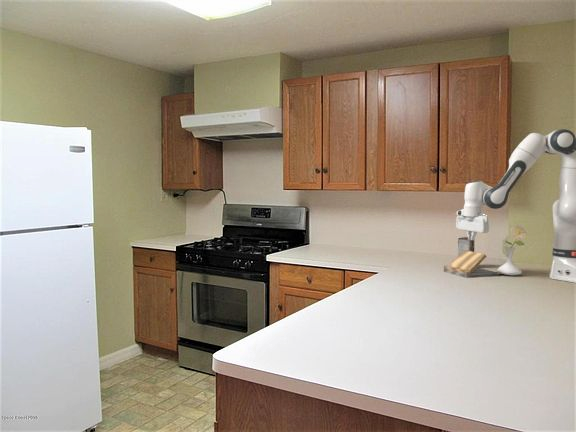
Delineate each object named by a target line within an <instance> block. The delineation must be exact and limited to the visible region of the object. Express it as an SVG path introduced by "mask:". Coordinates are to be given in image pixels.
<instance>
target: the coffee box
mask: <svg viewBox="0 0 576 432" xmlns="http://www.w3.org/2000/svg"><path fill="white" fill-rule="evenodd" d="M475 240H476V239H475ZM475 240H468V236H462V237H459V238H458V241H457V257H458V256H459V255H460V254H461V253H462V252H463V251H464V250H465V251H470V252H475Z"/></svg>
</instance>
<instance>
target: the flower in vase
mask: <svg viewBox="0 0 576 432" xmlns="http://www.w3.org/2000/svg"><path fill="white" fill-rule="evenodd" d="M509 232H510V233H509V235H510V237H511V238H512V239H514V240H515V241H514V243H513V244H512V242H509V241H508V240H506V239H505V242H506V244H507V245H511V246H504V249H505V251H506V254H507V255H506V256H507V258H506V261H505V263H503V264H502V265H501V266H499V267H498V268H497V269H496V272H498V274H500V275H501V274H502V275H505V276H519V275H521V274H522V273H523V271H522V270H521V269H520V267H518V266H517V265H516V264H515V263H514V262H513V256H514V255H513V254H514V251H515V250H516V247H513V246H514V245H515V244H516V245H517V246H525V243H524V242H523V241H522V240H525V239H527V238H526V237H527V236H528V231H527V230H526V229H525V227H524V226H521V225H515V226H512V227H511V228H510V231H509Z"/></svg>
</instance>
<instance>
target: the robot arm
mask: <svg viewBox="0 0 576 432" xmlns="http://www.w3.org/2000/svg"><path fill="white" fill-rule="evenodd" d="M543 153H545V154H547V155H548V154H549V155H559V157H560V159H561V160H560V161H561V164H560V170H559V178H558V190H559V196H558V197H559V198H558V199H556V200H555V201H554V203H553V204H552V219H553V220H552V221H553V229H554V230H553V231H554V233H553V234H554V235H553V236H554V237H553V247H552V251H551V252H552V263H551V266H550V267H551V268H550V271H549V274H548V277H549V278H550V279H552V280H558V281H563V282H570V283H575V284H576V135H575V134H574V132H573V131H571V130H570V129H567V128H566V129H565V128H561V129H558V130H557V129H556V130H553V131H552V132H550V133H547V134H545V135H543V134H541V133H538V132H532V133H529V134H528V135H526V137H524V139H523V140H522V141H520V143H519V144H518V145H517V146H516V147H515V149H514V151H513V152H512V153H511V155H510V157H509V159H508V168H507V171H506V173H505V174H504V175H503V177H502V178H501V179H500V181H499V182H498V183H497V184H496V185H495V186H494V187H493V186H490V185H488V184H486V183H485V182H483V181H482V180H473V181H469V182H468V183H466V185H465V188H464V196H463V198H464V199H463V200H464V205H463V208H462V209H460V210H457V211H456V215H457V216H456V218H455V227H456V229H457V230H460V231H466V234H467V235H466V236H467V237H468V240H476V236H477V234H478V233H482V234H487V233H488V232H490V224H489V217H488V215H487V214H485V213H483V206H487V207H488V208H490V209H494V210H498V209H501V208H503V207H504V206H505V205H506V204H507V201H508V199H509V194H510V192H511V190H512V189H513V187H514V186H515V185H516V184H517V182H518V181H519V180H520V178H521V177H522V176H523V175H524V174H525V173H527V171H528V170H529V169H530V168H531V167H532V166H533V165H534V164H535V163H536V161H538V159H539V158H540V157H541V155H542V154H543Z"/></svg>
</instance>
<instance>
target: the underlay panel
mask: <svg viewBox="0 0 576 432" xmlns="http://www.w3.org/2000/svg"><path fill="white" fill-rule="evenodd" d="M443 272H444V273H448V274H453V275H456V276H459V277H463V278H476V277H477V278H478V277H494V276H498V274H499V273H498V272H497V271H493V270H491V269H490V270H489V269H485V268H481V267H476V268H475V269H474V270H473V271H472V272H471V273H470V271H468V270H464V269H460V268H455V267H451V266H450V265H444V266H443Z"/></svg>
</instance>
